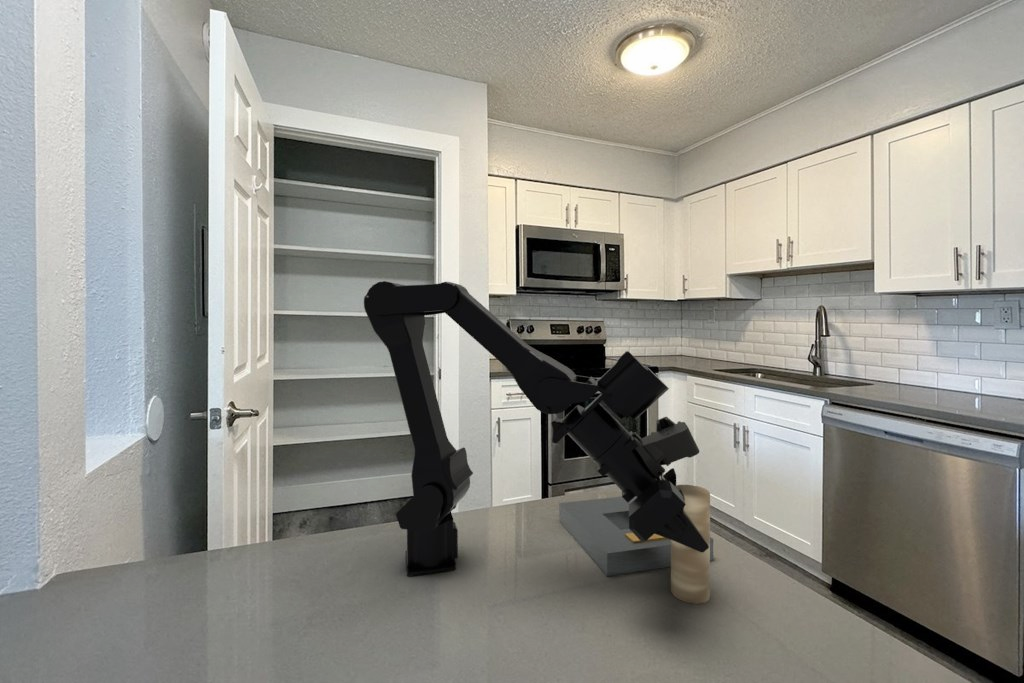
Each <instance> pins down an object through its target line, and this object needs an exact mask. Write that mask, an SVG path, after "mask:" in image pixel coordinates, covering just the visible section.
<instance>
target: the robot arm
mask: <svg viewBox="0 0 1024 683" xmlns="http://www.w3.org/2000/svg"><path fill="white" fill-rule="evenodd" d="M363 308H364V312H365V313H366V316H367V319H368V320H369V323H370V325H371V327H372V330H373V331H374V333H375V334H376V335H377V337H378V338H379V339H380V341H381V342H382V344H384V346H385V347H386V349H387V351H388V353H389V356H390V361H391V365H392V368H393V372H394V376H395V379H396V380H395V381H396V385H397V387H398V391H399V392H398V393H399V395H400V399H401V403H402V406H403V411H404V415H405V419H406V421H407V426H408V429H409V435H410V437H411V442H412V446H413V451H414V453H413V459H412V461H413V462H412V466H411V467H412V468H411V473H410V474H411V486H412V497H411V498H410V499H409V500H408V501H407V502H406V503H405V504H404V505H403V506H402V507H401V508H400V509H399V510H398V511H397V512H396V514H395V515H396V516H395V517H396V519H397V521H398V526H399V528H400V529H402V530H406V550H405V569H406V572H405V573H406V576H408V577H409V576H417V575H424V574H431V573H432V574H433V573H440V572H446V571H454V570H455V569H457V564H456V560H457V558H458V556H459V555H458V554H459V553H458V552H459V550H458V549H459V546H458V545H459V544H458V541H459V540H458V538H459V537H458V536H459V535H458V534H459V532H458V531H459V530H458V527H457V525H456V522H455V521H454V517H453V514H452V511H453V510H454V509H456V507H457V505H458V503H459V502H460V501H461V500H462V499H463V498H464V497H465V496H467V492H468V491H469V489H470V487H471V486H470V485H471V477H472V475H473V474H474V472H473V470H471V469H472V468H470V464H468V455H467V450H466V448H465V447H461V448H459V449H456V448H455V446H454V445H453V444H452V443H451V442H450V440H449V438H448V436H447V432H446V427H445V424H444V420H443V416H442V413H441V409H440V404H439V401H438V397H437V393H436V391H435V385H434V382H433V378H432V375H431V372H430V371H431V370H430V367H429V363H428V360H427V356H426V351H425V348H424V343H423V341H424V340H423V339H424V332H425V327H426V326H425V325H426V318H425V316H435V315H439V314H446V315H447V316H448V317H449V318H451V320H453V322H454V323H456V324H457V325H458V326H459V327H460V328H462V329H463V331H465V332H466V333H467V334H468V335H469V336H470V337H472V338H473V339H474V340H475V341H476V343H478V344H479V345H481V346H482V347H483V348H484V349H485V350H486V351H487V352H488V353H489V354H491V355H492V356H493V357H494V359H496V360H498V362H500V363H501V364H502V365H503V366H504V367H505V368H506V370H508V372H509V373H510V374H511V376H512V378H513V380H514V381H515V383H516V385H517V386H518V388H519V390H521V391H522V393H523V394H524V395H525V397H526V398H527V400H529V402H530V404H531V405H532V406H533V407H534V408H535V409H536V410H538V411H539V412H540V413H542V414H546V415H558V414H560V413H563V412H565V411H566V410H567V409H569V408H570V407H571V405H572V404H577V405H576V406H575V407H574V408H573V409H571V411H569V412H568V413H567V414H566V415H565V416H564V417H563V418H553V420H552V421H551V427H552V438H551V442H552V443H553V444H555V445H556V444H557V443H559V442H560V441H561V440H563V439H564V438H565V436H566V435H568V436H569V437H570V438H571V439H572V441H574V442H575V443H576V444H577V446H579V448H580V449H581V450H583V452H584V453H585V454H586V455H587V456H588V457H589V458H590V459H591V460H592V461H593V463H594V464H596V465H597V470H596V471H597V472H598V474H600V475H601V476H602V477H603V478H604V477H605V476H606V475H607V477H608V478H609V479H610V480H611V482H613V483H614V485H616V486H617V488H619V489H620V490H621V497H623V498H624V499H625V500H626V501H627V502H629V501H631V500H632V499H633V498H634V497H635V496H636V497H637V498H636V499H635V500H634V501H633V502H632V503H630V504H629V529H630V530H631V531H632V532H633V533H634V534H635V535H636V536H637V538H638V539H639V540H640V541H641V542H644V541H646V540H648V539H649V538H650V537H651V536H652V535H653V534H657V535H660V536H662V537H665V538H668V539H670V540H673V541H676V542H678V543H680V544H683V545H685V546H687V547H690V548H692V549H694V550H697V551H699V552H705V551H706V550H707V549H708V548H709V546H708V544H707V542H706V541H705V539H704V538H703V537H702V535H701V534H700V532H699V531H698V529H697V528H696V527H695V525H694V524H693V522H692V521H691V520H690V518H689V517H688V515H687V514H686V513H685V511H684V506H685V505H686V504H685V498H684V495H683V492H682V490H681V489H680V490H679V491H678V489H677V488H676V487H675V486H676V485H677V473H676V471H675V468H674V467H672V468H670V469H669V470H668V471H666V469H665V467H664V466H667V467H669V466H670V465H671V464H672V463H674V462H677V461H679V460H682V459H685V458H693V457H695V456H697V455H698V454H700V452H701V451H700V448H699V447H698V445H697V443H696V441H695V439H694V436H693V434H692V432H691V430H690V428H689V426H688V425H687V423H686V422H685V421H681V420H679V421H677V423H675V422H674V421H673V420H671V419H670V417H668V416H663V417H662V418H659V419H657V420H655V432H654V431H652V432H650V434H649V435H646V436H644V437H641V436H640V435H639V434H638V433H637V432H636V431H634V432H633V431H632V430H631V431H628V430H627V429H626V427H624V426H623V425H622V424H621V423H620V422H619V420H618V419H617V418H615V417H614V416H613V415H612V413H610V411H612V412H613V414H615V415H616V416H617V417H618V418H620V420H624V419H626V420H628V419H629V418H631V419H633V420H637V419H638V418H639V417H640V416H641V415H642V414H643V413H645V411H647V410H648V409H649V408H650V407H651V406H652V405H653V404H654V403H655V402H657V400H659V399H660V398H661V397H662V396H664V394H665V393H666V392H667V391H669V389H670V388H669V387H668V385H667V384H665V383H664V382H663V381H662V380H661V379H660V378H659V377H658V376H657V375H656V374H655V373H654V372H653V371H652V370H651V369H650V368H649V367H648V366H645V365H644V364H643V363H642V362H641V361H640V360H638V358H636V356H634V355H633V354H632V353H631V352H630V351H628V350H627V351H624V353H623V354H621V356H619V358H618V359H617V361H616V363H614V365H613V366H611V367H610V369H608V370H607V371H606V372H605V373H604V374H602V376H600V378H597V377H596V378H595V377H593V376H590V377H589V376H584V375H577V374H575V372H574V371H573V370H572V369H570V368H569V367H568V366H566V365H564V364H563V363H561V362H560V361H558V360H556V359H554V358H552V357H551V356H548V355H547V354H545V353H543V352H541V351H539V350H537V349H536V348H534V347H532V346H530V345H529V344H528V343H527V342H525V341H524V340H523V339H522V338H521V337H520V336H518V334H516V333H515V332H514V331H513V330H511V329H510V328H509V326H507V325H506V324H505V323H504V322H502V320H500V319H499V318H498V317H497V316H495V314H494V313H492V312H491V311H490V310H489V309H488V308H486V307H485V306H484V305H483V304H482V303H480V302H479V301H478V300H477V299H476V298H475V297H474V296H473V295H471V294H470V292H469V291H468V289H467V288H466V287H465V286H463V285H461V284H458V283H454V282H451V281H443V282H440V283H432V284H412V285H405V284H401V283H397V282H396V283H395V282H391V281H387V280H386V281H385V280H384V281H378V282H376V283H374V284H373V285H371V287H370V288H369V289H368V290H367V293H366V294H365V296H364V298H363ZM598 392H599V393H600V394H599V395H598V396H597V397H596V398H595V399H594V400H592V401H591V402H590V403H589V404H588V405H587V406H585V407H583V406H581V405H579V404H578V403H584V402H588V401H590V399H592V397H593V396H594V395H596V394H597V393H598ZM602 401H603V403H604V404H605V405H606V406H607V407H608V408H609V409H610V411H608V409H606V407H604V406H603V405H602V403H601V402H602ZM665 472H666V473H665ZM664 473H665V474H664Z"/></svg>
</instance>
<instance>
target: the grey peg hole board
mask: <svg viewBox="0 0 1024 683" xmlns="http://www.w3.org/2000/svg"><path fill="white" fill-rule="evenodd" d="M636 498H637V497H636V496H635V497H634V498H633V499H632V500H631V501H629V502H627V501H626V500H625V499H624V498H623V497H622V496H613V497H604V498H596V499H595V498H593V499H585V500H575V501H564V502H559V503H558V521H559V522H560V523H561V525H562V526H563V527H564V528H565V529H566V530H567V532H568V533H569V534H570V535H571V536H572V537H573V539H574V540H575V541H576V542H577V543H578V545H580V547H581V548H582V549H583V551H585V553H586V554H587V555H589V557H590V558H591V559H592V560H593V562H594V563H595V564H596V566H598V568H599V569H600V570H601V571H602V572H603V573H604V574H605V576H606V577H610V576H619V575H625V574H626V575H627V574H630V573H639V572H645V571H651V570H658V569H664V568H671V540H670V539H668V538H665V537H662V536H660V535H657V534H653V535H652V536H651V537H650V538H649V539H648V540H646V541H644V542H641V541H640V540H639V539H638V538H637V536H636V535H635V534H634V533H633V532H632V531H631V530H630V529H629V504H630V503H632V502H633V501H634V500H635V499H636ZM711 561H714V538H713V537H711V536H710V562H711Z"/></svg>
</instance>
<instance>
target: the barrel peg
mask: <svg viewBox="0 0 1024 683" xmlns="http://www.w3.org/2000/svg"><path fill="white" fill-rule="evenodd" d="M675 487H676V488H677V489H678V491H679V490H680V489H681V490H682V492H683V495H684V498H685V504H686V505H685V506H684V511H685V513H686V514H687V515H688V517H689V518H690V520H691V521H692V522H693V524H694V525H695V527H696V528H697V529H698V531H699V532H700V534H701V535H702V537H703V538H704V539H705V541H706V542H707V544H708V546H709V548H708V549H707V550H706V551H705V552H699V551H697V550H694V549H692V548H690V547H687V546H685V545H683V544H680V543H678V542H676V541H673V540H671V567H670V592H671V594H672V595H673V596H674V597H675V598H676V599H678V600H680V601H682V602H685V603H688V604H696V605H697V604H698V605H699V604H705V603H707V602H708V601H709V600H710V598H711V597H710V596H711V595H710V594H711V592H710V591H711V590H710V586H711V585H710V584H711V577H710V576H711V573H710V572H711V566H710V565H711V563H710V562H711V561H710V537H711V492H710V491H709V490H708V489H707V488H704V487H701V486H698V485H693V484H676V486H675Z"/></svg>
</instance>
